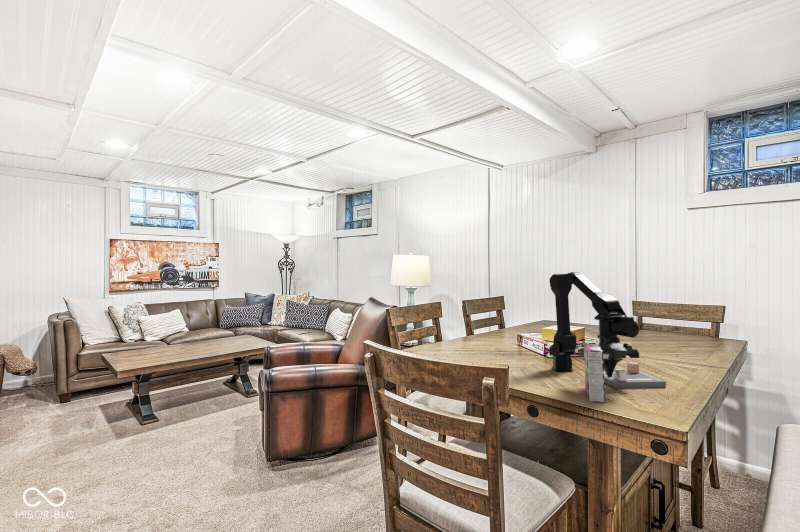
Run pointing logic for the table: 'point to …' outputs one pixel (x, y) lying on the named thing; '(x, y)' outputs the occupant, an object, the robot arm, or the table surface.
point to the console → (634, 381)
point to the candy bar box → (594, 372)
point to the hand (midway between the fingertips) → (609, 377)
